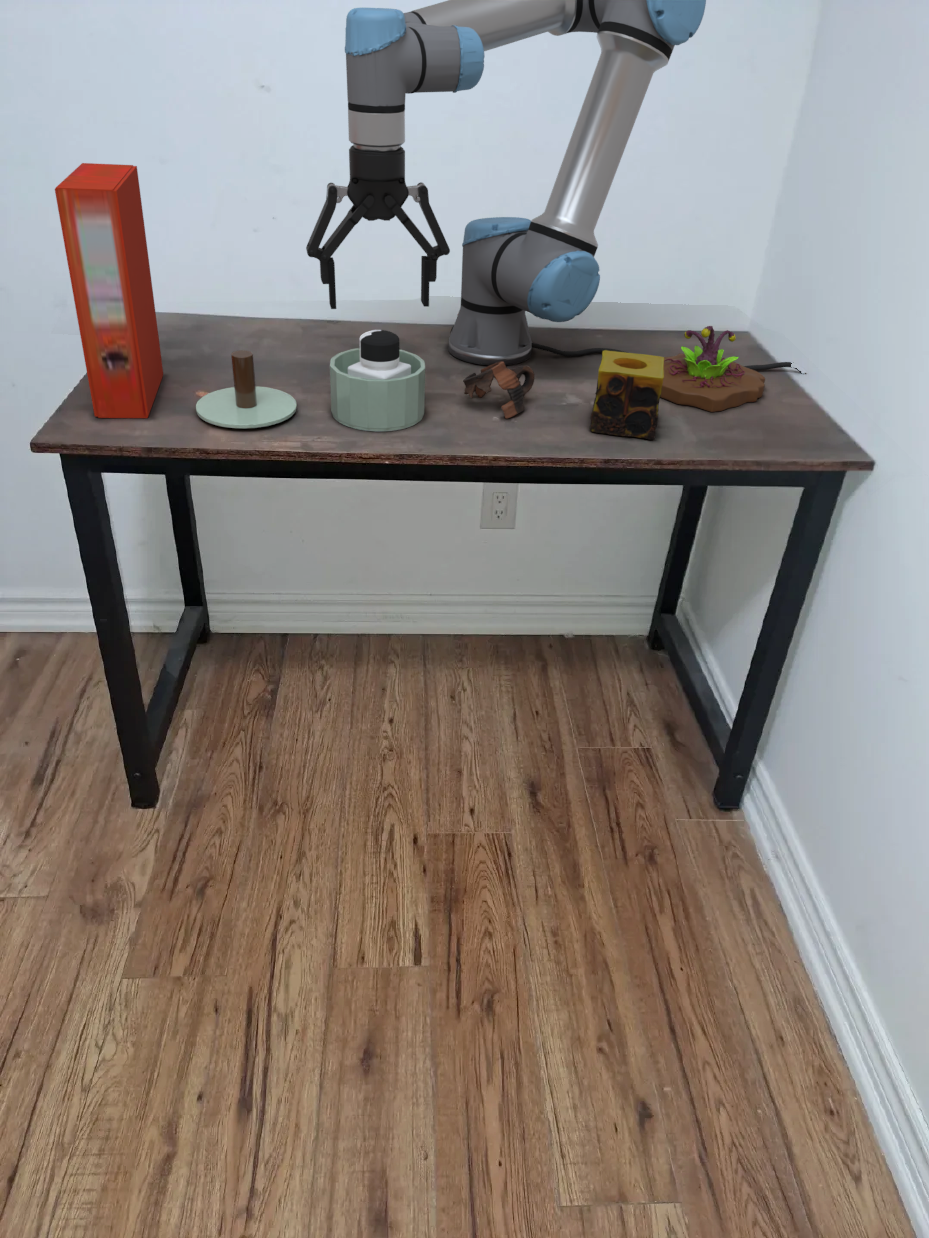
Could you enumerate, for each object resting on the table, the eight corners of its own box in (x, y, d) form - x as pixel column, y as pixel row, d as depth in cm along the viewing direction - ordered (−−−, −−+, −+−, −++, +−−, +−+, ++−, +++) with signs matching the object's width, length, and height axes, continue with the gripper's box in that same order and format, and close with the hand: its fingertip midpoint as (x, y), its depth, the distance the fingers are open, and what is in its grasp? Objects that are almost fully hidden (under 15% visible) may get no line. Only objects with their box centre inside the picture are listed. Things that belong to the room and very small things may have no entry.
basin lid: (279, 388, 154) (276, 332, 148) (310, 424, 143) (307, 365, 137) (186, 400, 148) (178, 342, 142) (210, 438, 137) (203, 377, 132)
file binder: (165, 376, 155) (136, 164, 137) (150, 418, 142) (116, 189, 123) (115, 375, 154) (78, 163, 136) (95, 418, 140) (51, 187, 122)
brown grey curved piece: (495, 428, 146) (473, 378, 144) (468, 431, 155) (447, 384, 152) (554, 395, 150) (534, 346, 147) (525, 401, 158) (506, 354, 156)
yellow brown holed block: (654, 441, 144) (665, 379, 138) (588, 433, 145) (597, 370, 139) (656, 416, 152) (667, 356, 146) (594, 408, 153) (602, 348, 147)
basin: (401, 390, 156) (402, 343, 151) (438, 423, 145) (440, 374, 141) (319, 401, 150) (316, 352, 145) (351, 437, 140) (350, 386, 135)
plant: (620, 384, 162) (630, 320, 156) (680, 359, 175) (692, 298, 168) (721, 420, 152) (736, 352, 145) (778, 390, 164) (794, 327, 157)
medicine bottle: (411, 408, 148) (412, 333, 141) (384, 422, 143) (384, 345, 136) (375, 397, 151) (374, 323, 144) (347, 410, 146) (345, 334, 139)
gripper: (462, 141, 131) (457, 295, 143) (281, 140, 126) (292, 299, 139) (473, 151, 125) (467, 311, 137) (283, 150, 120) (295, 315, 133)
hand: (379, 305), depth 138 cm, fingers open, 13 cm apart
